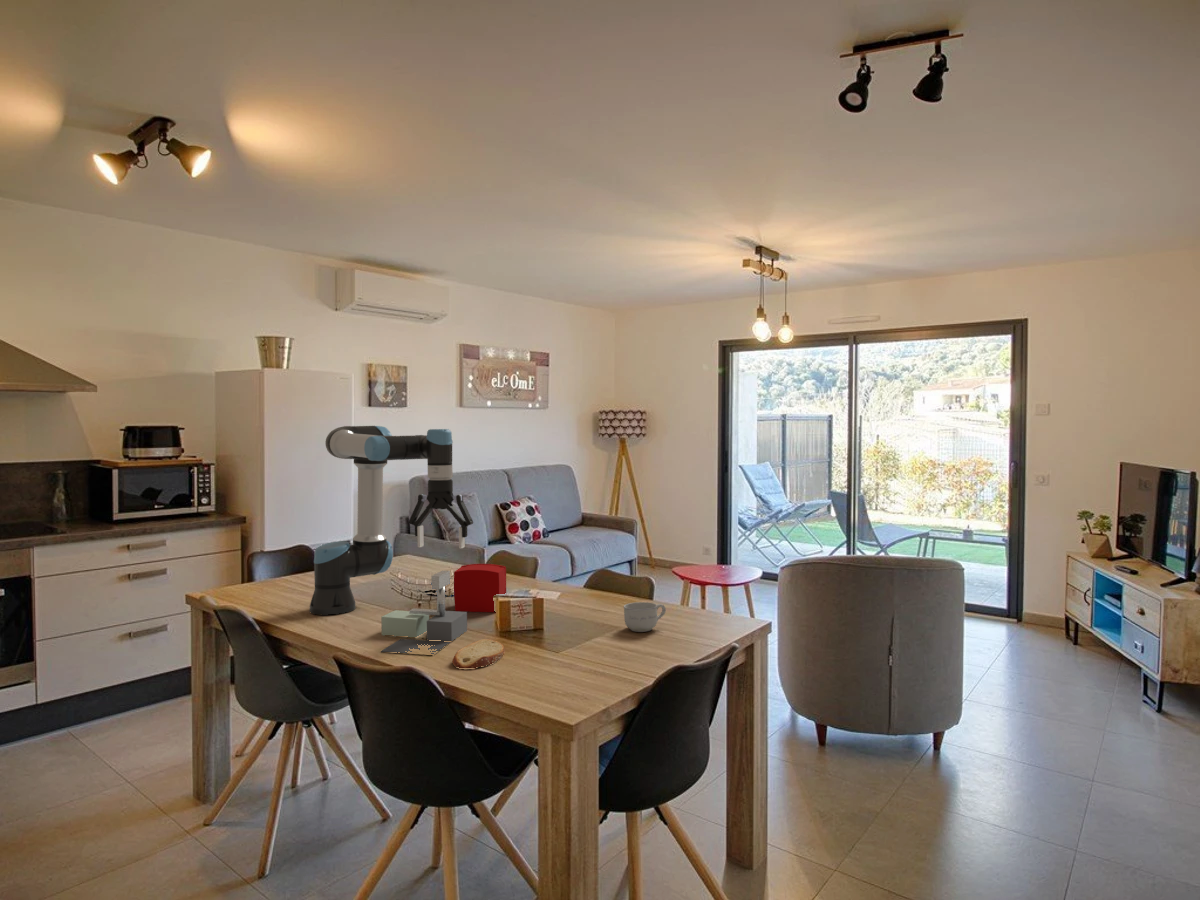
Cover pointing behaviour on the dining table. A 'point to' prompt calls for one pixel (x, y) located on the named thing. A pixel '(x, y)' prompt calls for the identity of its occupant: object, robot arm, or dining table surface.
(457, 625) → the block
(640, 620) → the teacup
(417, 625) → the pale green block
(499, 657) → the bread slice
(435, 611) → the t key
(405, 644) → the mat
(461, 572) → the maroon rounded cube
